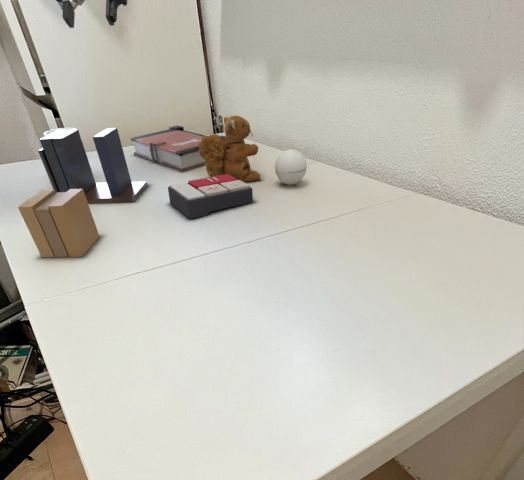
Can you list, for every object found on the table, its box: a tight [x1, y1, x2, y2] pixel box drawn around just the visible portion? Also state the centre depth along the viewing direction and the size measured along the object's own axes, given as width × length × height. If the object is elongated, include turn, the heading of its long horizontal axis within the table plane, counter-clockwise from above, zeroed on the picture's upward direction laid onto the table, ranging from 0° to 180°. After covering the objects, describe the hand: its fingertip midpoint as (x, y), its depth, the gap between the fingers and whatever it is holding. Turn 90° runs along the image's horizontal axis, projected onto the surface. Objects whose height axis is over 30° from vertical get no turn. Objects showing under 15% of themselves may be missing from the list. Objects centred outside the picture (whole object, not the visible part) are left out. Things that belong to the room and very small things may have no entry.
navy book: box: [92, 127, 133, 196], centre depth 86 cm, size 2×8×12 cm, turn 176°
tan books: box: [17, 189, 101, 258], centre depth 67 cm, size 8×8×9 cm
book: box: [129, 125, 226, 173], centre depth 111 cm, size 26×18×5 cm
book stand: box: [37, 129, 149, 204], centre depth 87 cm, size 19×11×13 cm, turn 86°
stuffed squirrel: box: [197, 115, 261, 183], centre depth 91 cm, size 10×14×13 cm
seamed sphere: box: [274, 148, 315, 186], centre depth 88 cm, size 10×7×7 cm
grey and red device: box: [167, 174, 254, 220], centre depth 82 cm, size 11×4×15 cm
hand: (89, 23), depth 76 cm, fingers open, 8 cm apart
